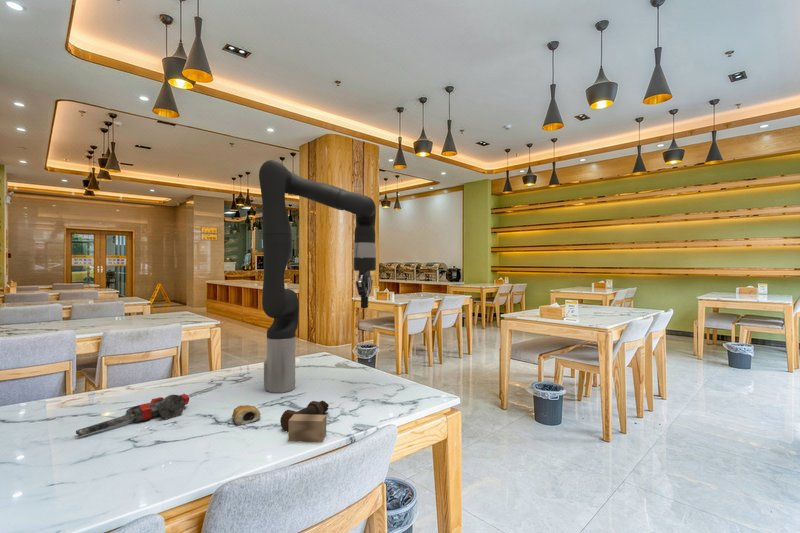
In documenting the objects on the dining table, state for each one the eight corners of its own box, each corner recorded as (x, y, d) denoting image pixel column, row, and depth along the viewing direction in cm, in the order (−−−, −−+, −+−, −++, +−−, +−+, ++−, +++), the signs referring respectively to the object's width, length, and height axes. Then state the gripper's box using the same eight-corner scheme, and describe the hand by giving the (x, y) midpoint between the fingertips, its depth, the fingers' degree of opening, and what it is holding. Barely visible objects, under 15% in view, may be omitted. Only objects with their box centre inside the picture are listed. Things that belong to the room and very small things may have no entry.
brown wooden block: (288, 441, 93) (288, 420, 93) (293, 434, 97) (294, 414, 97) (322, 442, 92) (322, 421, 92) (326, 435, 96) (326, 414, 96)
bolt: (326, 419, 111) (289, 438, 97) (314, 408, 113) (276, 425, 99) (335, 403, 110) (299, 420, 96) (323, 391, 112) (286, 406, 98)
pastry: (228, 415, 109) (228, 401, 109) (253, 411, 113) (253, 397, 113) (236, 427, 101) (236, 412, 101) (263, 421, 105) (263, 407, 105)
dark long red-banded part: (174, 407, 120) (199, 410, 112) (66, 441, 99) (86, 449, 91) (172, 386, 121) (196, 388, 112) (63, 416, 100) (83, 421, 91)
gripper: (359, 257, 140) (359, 305, 140) (348, 256, 127) (347, 309, 127) (380, 257, 139) (379, 306, 139) (370, 256, 126) (370, 310, 126)
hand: (364, 308), depth 133 cm, fingers closed
